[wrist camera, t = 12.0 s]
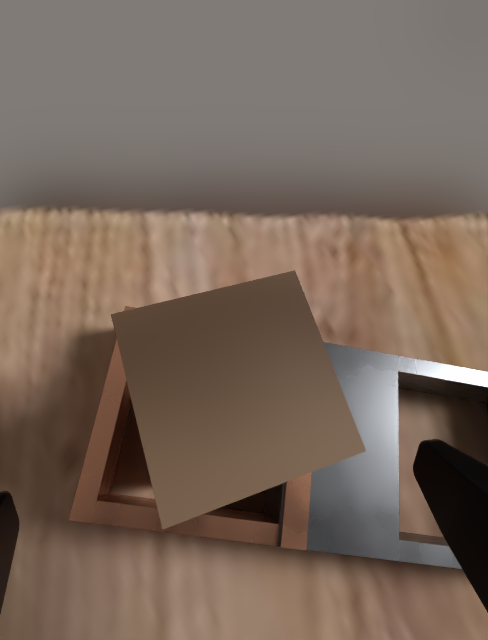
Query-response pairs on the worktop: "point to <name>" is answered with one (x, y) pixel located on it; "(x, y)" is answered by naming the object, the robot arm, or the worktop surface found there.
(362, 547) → the rail
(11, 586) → the worktop surface
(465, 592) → the worktop surface
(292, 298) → the peg
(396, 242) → the worktop surface
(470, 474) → the robot arm
